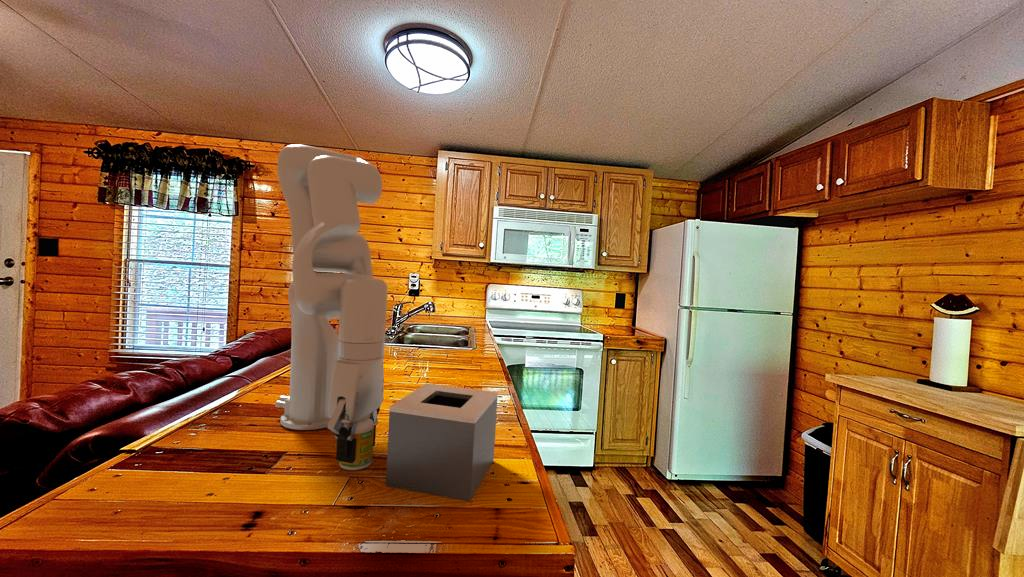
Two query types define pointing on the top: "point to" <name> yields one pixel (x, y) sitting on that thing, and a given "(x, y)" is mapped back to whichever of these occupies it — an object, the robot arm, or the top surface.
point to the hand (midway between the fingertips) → (356, 452)
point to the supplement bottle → (361, 444)
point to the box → (441, 440)
